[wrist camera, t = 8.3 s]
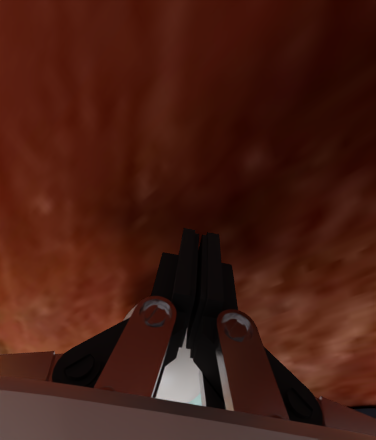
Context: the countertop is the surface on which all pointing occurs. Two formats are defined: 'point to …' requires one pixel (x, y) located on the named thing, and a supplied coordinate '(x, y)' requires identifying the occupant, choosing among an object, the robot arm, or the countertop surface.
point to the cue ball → (179, 376)
